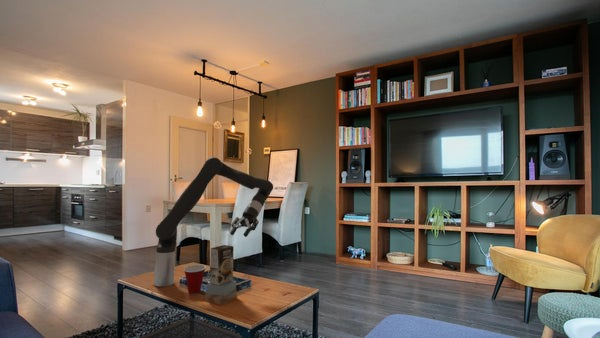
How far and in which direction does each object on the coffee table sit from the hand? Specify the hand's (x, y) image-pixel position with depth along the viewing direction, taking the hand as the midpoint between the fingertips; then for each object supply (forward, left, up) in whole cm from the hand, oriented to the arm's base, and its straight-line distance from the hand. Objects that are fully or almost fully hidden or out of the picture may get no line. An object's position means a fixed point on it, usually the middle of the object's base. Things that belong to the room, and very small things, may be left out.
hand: (238, 235), depth 157 cm
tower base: (0, -11, -29) cm, 30 cm away
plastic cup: (-19, -10, -28) cm, 35 cm away
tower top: (0, -11, -24) cm, 27 cm away
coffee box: (0, -10, -20) cm, 23 cm away
